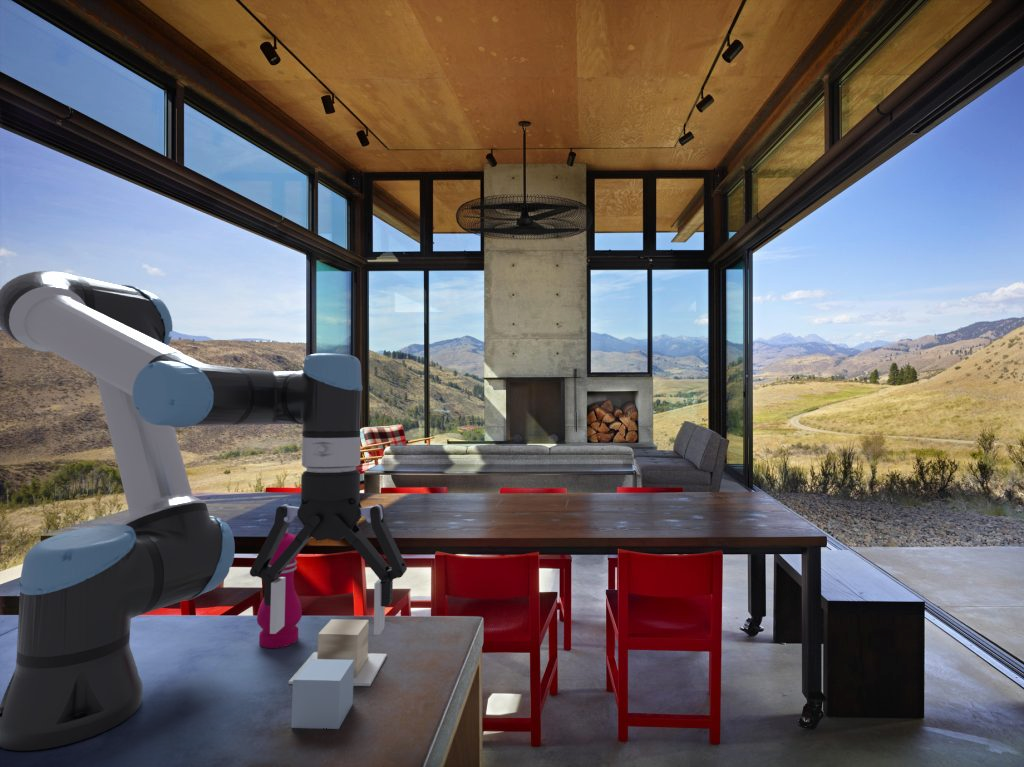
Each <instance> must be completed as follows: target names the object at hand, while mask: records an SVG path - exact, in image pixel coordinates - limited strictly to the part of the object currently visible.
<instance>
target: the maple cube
mask: <svg viewBox="0 0 1024 767" xmlns="http://www.w3.org/2000/svg"><path fill="white" fill-rule="evenodd" d="M369 621H370V620H369V619H340V618H339V619H337V618H336V619H335V618H331V619H330V620H329V621H328V622H327V623H326V624H325V626H324V627H323V628H322V629H321V630H320V631H319V632H318V633H317V652H318V654H317V659H337V660H354V676H357V674H358V673H359V671H360V670H361V668H362V666H363V665H364V663H365V662H366V660H367V658H368V653H369V652H368V651H369V623H370V622H369Z"/></svg>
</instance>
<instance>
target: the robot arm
mask: <svg viewBox="0 0 1024 767" xmlns="http://www.w3.org/2000/svg"><path fill="white" fill-rule="evenodd" d="M0 329H2V331H3V332H4V333H5V334H6V335H7V336H8V337H10V338H11V339H12V340H14V342H15V341H16V342H17V343H20V344H21V345H23V346H24V347H26V348H29V349H31V350H34V351H37V352H45V353H46V352H50V353H51V352H52V353H53V354H56V355H57V356H59V357H60V358H63V359H64V360H66V361H68V362H69V363H71V364H73V365H75V366H77V367H79V368H81V369H82V370H85V372H88V373H90V374H91V375H93V376H95V380H96V382H97V387H98V390H99V395H100V399H101V402H102V408H103V411H104V416H105V418H106V423H107V429H108V431H109V435H110V440H111V444H112V448H113V451H114V456H115V459H116V463H117V464H116V465H117V468H118V472H119V476H120V479H121V480H120V481H121V483H122V489H123V492H124V493H123V494H124V496H125V497H124V498H125V500H126V505H127V508H128V516H127V517H126V518H125V520H123V523H122V524H103V525H101V524H100V525H97V526H94V527H88V526H87V527H83V528H79V529H78V528H77V529H73V530H70V531H66V532H65V531H64V532H63V533H59V534H56V535H52V536H51V537H48V538H45V539H43V540H41V541H39V542H37V543H36V544H35V545H34V546H32V548H30V549H29V550H28V551H27V552H26V554H25V556H24V558H23V562H22V568H21V574H20V578H19V580H18V590H19V603H18V622H17V624H18V626H17V637H16V638H17V641H16V643H17V644H16V658H15V659H16V661H15V668H14V670H13V673H12V676H11V677H10V681H9V682H8V684H7V687H6V690H5V692H4V693H3V697H2V700H1V701H0V748H2V749H5V750H10V751H20V752H21V751H39V750H46V749H53V748H58V747H61V746H66V745H69V744H74V743H77V742H80V741H83V740H86V739H89V738H92V737H95V736H97V735H99V734H102V733H105V732H106V731H108V730H111V729H113V728H114V727H116V726H118V725H120V724H122V723H123V722H124V721H126V720H128V719H129V718H130V717H131V716H133V714H135V713H136V712H137V711H139V708H140V707H141V706H142V703H143V686H144V685H143V680H142V679H141V677H140V675H139V672H138V668H137V664H136V661H135V658H134V656H133V652H132V649H131V646H130V645H131V644H130V638H131V621H132V618H135V617H139V616H141V615H144V614H147V613H150V612H153V611H157V610H159V609H162V608H165V607H169V606H172V605H174V604H178V603H180V602H185V601H190V600H194V599H195V598H197V597H200V596H201V595H202V594H205V593H207V592H210V591H213V590H215V589H216V588H218V587H219V586H220V585H221V584H222V583H223V582H224V581H225V580H226V579H227V577H228V575H229V572H230V568H231V567H233V566H232V565H233V563H234V560H235V551H236V549H235V548H236V546H235V544H236V543H235V539H234V534H233V530H232V529H231V527H230V525H229V524H228V523H227V522H224V520H223V519H222V518H220V517H217V516H213V515H210V513H209V510H208V506H207V503H206V501H205V500H203V499H200V498H199V497H195V496H194V495H193V493H192V489H191V486H190V482H189V478H188V475H187V472H186V471H187V470H186V468H185V464H184V460H183V456H182V452H181V449H180V445H179V442H178V438H177V434H176V430H175V428H189V427H200V426H201V427H202V426H204V427H205V426H207V427H208V426H230V425H231V426H233V425H235V426H241V425H242V426H244V425H246V426H249V425H251V426H253V425H254V426H255V425H256V426H258V425H259V426H260V425H263V426H269V425H302V441H301V442H302V445H301V446H302V447H301V448H302V450H301V466H302V467H303V468H305V469H306V470H304V471H303V472H302V473H301V479H300V480H301V481H300V483H301V484H300V499H301V500H300V501H301V502H300V505H299V506H294V505H292V504H291V503H285V504H282V505H280V506H278V507H277V508H276V510H275V515H274V517H275V518H274V522H273V525H272V528H271V529H270V531H269V533H268V535H267V537H266V539H265V541H264V542H263V545H262V547H261V549H259V552H258V555H257V556H256V558H255V560H254V562H253V564H252V566H251V568H250V569H249V575H250V576H251V577H253V578H254V577H257V578H259V579H262V580H263V582H264V588H263V589H264V590H263V592H264V594H263V595H264V596H263V598H264V603H265V606H271V610H270V634H276V633H277V632H278V631H279V630H280V629H282V628H283V627H284V622H285V580H286V577H279V578H278V576H279V575H280V574H281V572H282V571H283V570H284V569H285V567H286V566H287V565H288V564H289V563H290V562H291V560H292V559H293V558H294V557H295V556H296V555H297V553H298V552H299V551H300V552H301V550H302V549H303V548H304V547H305V545H306V544H307V543H308V542H309V541H310V540H311V539H312V538H313V539H314V540H315V541H324V540H325V541H326V540H330V541H338V542H339V541H341V540H343V539H345V541H346V542H347V543H348V544H349V545H351V546H352V547H353V548H354V550H356V552H357V553H358V554H359V555H360V557H361V558H362V559H363V560H364V562H365V563H366V564H367V565H368V566H369V568H370V570H372V572H373V573H374V574H375V575H376V576H377V577H378V579H377V580H376V581H375V583H374V590H373V591H374V592H373V593H374V594H373V595H374V596H373V599H374V600H373V602H374V603H373V604H374V605H373V636H375V635H377V636H379V635H381V634H382V632H383V630H384V629H385V622H386V620H385V619H386V617H385V615H386V614H385V613H386V607H389V606H390V605H391V603H392V601H393V592H394V591H393V590H394V589H393V586H394V585H393V582H394V580H395V579H399V578H401V577H403V575H404V574H405V573H406V572H407V570H408V568H407V566H408V565H407V564H406V562H405V560H404V558H403V556H402V554H401V552H400V549H399V548H398V545H397V543H396V541H395V539H394V537H393V534H392V533H391V531H390V528H389V527H388V524H387V522H386V520H385V519H386V518H385V510H384V509H385V508H384V506H383V504H381V503H377V504H375V505H372V506H364V507H363V506H362V504H361V501H360V497H361V495H360V494H361V472H360V471H359V470H358V469H357V467H359V466H360V465H361V416H362V415H361V413H362V393H363V389H364V388H363V385H362V382H363V381H362V365H361V362H360V360H359V358H358V357H357V356H353V355H350V354H344V353H326V352H325V353H322V352H321V353H313V354H308V355H307V356H305V358H304V361H303V366H302V370H292V371H291V370H287V371H286V370H283V371H282V370H280V371H279V370H264V369H254V368H243V367H235V366H223V365H214V364H208V363H204V362H202V361H200V360H197V359H195V358H194V357H192V356H189V355H187V354H185V353H183V352H182V351H180V350H177V349H175V348H173V347H171V346H169V344H170V343H171V340H172V335H170V332H173V320H172V316H171V313H170V310H169V308H168V307H167V306H166V304H165V302H164V301H163V300H162V299H161V298H160V297H159V296H157V295H156V294H154V293H152V292H150V291H147V290H144V289H140V288H139V287H137V286H136V287H135V286H133V285H129V284H128V285H127V284H116V283H111V282H106V281H102V280H97V279H93V278H89V277H85V276H81V275H74V274H70V273H67V272H64V271H63V272H62V271H53V270H42V271H41V270H38V271H32V272H28V273H27V272H26V273H23V274H20V275H18V276H16V277H14V278H12V279H10V280H9V281H7V282H6V283H5V284H3V286H1V288H0ZM296 517H297V518H298V519H299V521H300V522H301V525H303V527H302V529H301V530H300V531H299V532H298V533H297V534H296V535H295V536H296V537H295V539H294V540H293V541H292V542H291V544H290V545H289V546H288V547H287V548H286V549H285V551H284V552H283V553H282V554H281V555H280V556H279V558H278V559H277V560H276V561H275V562H274V563H273V565H272V566H271V567H269V566H268V565H269V564H270V562H271V560H272V558H273V556H274V554H275V552H276V550H277V548H278V546H279V544H280V542H281V540H282V538H283V536H284V534H285V532H286V530H287V528H288V529H289V527H290V525H291V523H292V522H294V521H295V519H296ZM362 517H364V519H365V521H366V522H367V523H368V524H370V526H371V529H372V531H373V533H374V535H375V537H376V539H377V541H378V543H379V545H380V547H381V550H382V552H383V554H384V556H385V558H386V560H385V559H384V557H383V556H382V555H381V554H380V552H378V550H377V549H376V548H375V547H374V545H373V544H372V543H371V541H370V540H369V539H368V538H367V537H366V536H365V533H364V531H363V530H362V527H360V526H359V524H358V522H359V521H360V519H361V518H362ZM387 562H388V563H387Z"/></svg>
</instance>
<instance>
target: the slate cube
mask: <svg viewBox="0 0 1024 767" xmlns="http://www.w3.org/2000/svg"><path fill="white" fill-rule="evenodd" d="M353 676H354V660H337V659H310V660H309V661H308V663H307V664H306V665H305V666H304V667H303V668H302V670H301V671H300V672H299V673H298V674H297V676H296V677H295V678H294V679H293V684H292V697H291V698H292V699H291V700H292V703H291V724H290V725H291V726H290V727H291V728H292V729H322V730H323V728H324V729H326V728H327V729H329V730H330V729H332V730H333V729H334V730H338V729H340V727H341V725H342V724H343V722H344V720H345V718H346V717H347V715H348V713H349V712H350V709H351V708H352V706H353V703H354V701H353V700H354V686H353ZM327 729H326V730H327Z"/></svg>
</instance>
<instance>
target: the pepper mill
mask: <svg viewBox="0 0 1024 767" xmlns="http://www.w3.org/2000/svg"><path fill="white" fill-rule="evenodd" d="M288 531H289V527H288V528H287V530H286V532H285V534H284V536H283V538H282V540H281V542H280V544H279V546H278V548H277V550H276V552H275V554H274V556H273V558H272V560H271V562H270V564H269V565H268V566H269V567H271V566H272V565H273V563H274V562H275V561H276V560H277V559H278V558H279V556H280V555H281V554H282V553H283V552H284V551H285V549H286V548H287V547H288V546H289V545H290V544H291V542H292V541H293V540H294V539H295V537H296V536H297V535H294V533H293V534H292V533H291V532H290V533H289V532H288ZM300 552H301V550H300V551H299V552H298V553H297V555H296V556H295V557H294V558H293V559H292V560H291V562H290V563H289V564H288V565H287V566H286V567H285V569H284V570H283V571H282V572H281V574H280V575H279V576H278V578H279V577H286V580H285V622H284V627H283V628H282V629H280V630H279V631H278V632H277V633H276V634H270V610H271V606H265V603H264V597H263V598H262V601H261V602H260V604H259V607H258V611H257V613H256V614H257V615H256V622H257V624H258V626H259V627H260V628H261V629H262V630H260V632H259V636H258V639H259V640H258V644H259V645H260V647H262V648H267V649H278V648H279V647H280V648H285V647H288V646H291V645H292V643H293V644H295V643H296V642H297V641H298V639H299V627H298V626H297V625H298V624H299V622H300V620H301V619H302V617H303V616H302V615H303V611H302V610H303V609H302V608H303V607H302V604H301V601H300V599H299V597H298V595H297V592H296V589H295V584H294V575H295V571H296V570H297V568H298V567H297V564H298V561H297V560H296V558H297V557H298V556H299V554H300ZM295 641H296V642H295ZM294 642H295V643H294ZM290 644H291V645H290ZM284 646H285V647H284ZM280 648H279V649H280Z"/></svg>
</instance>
